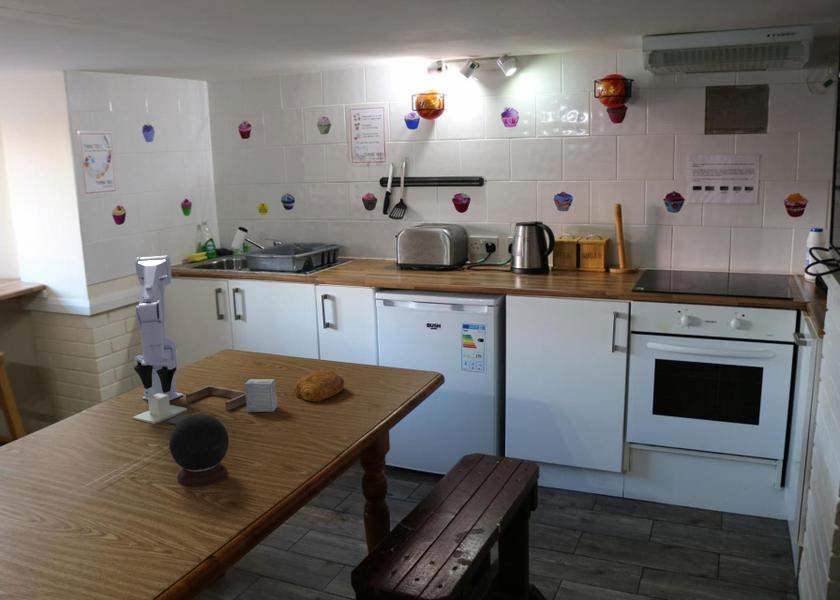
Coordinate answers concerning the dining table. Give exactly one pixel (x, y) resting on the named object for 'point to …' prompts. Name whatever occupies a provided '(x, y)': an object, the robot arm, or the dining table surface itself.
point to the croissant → (319, 385)
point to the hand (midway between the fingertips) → (157, 389)
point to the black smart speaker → (199, 450)
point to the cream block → (159, 404)
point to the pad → (155, 419)
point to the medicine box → (261, 395)
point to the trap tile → (175, 419)
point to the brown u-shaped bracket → (236, 395)
